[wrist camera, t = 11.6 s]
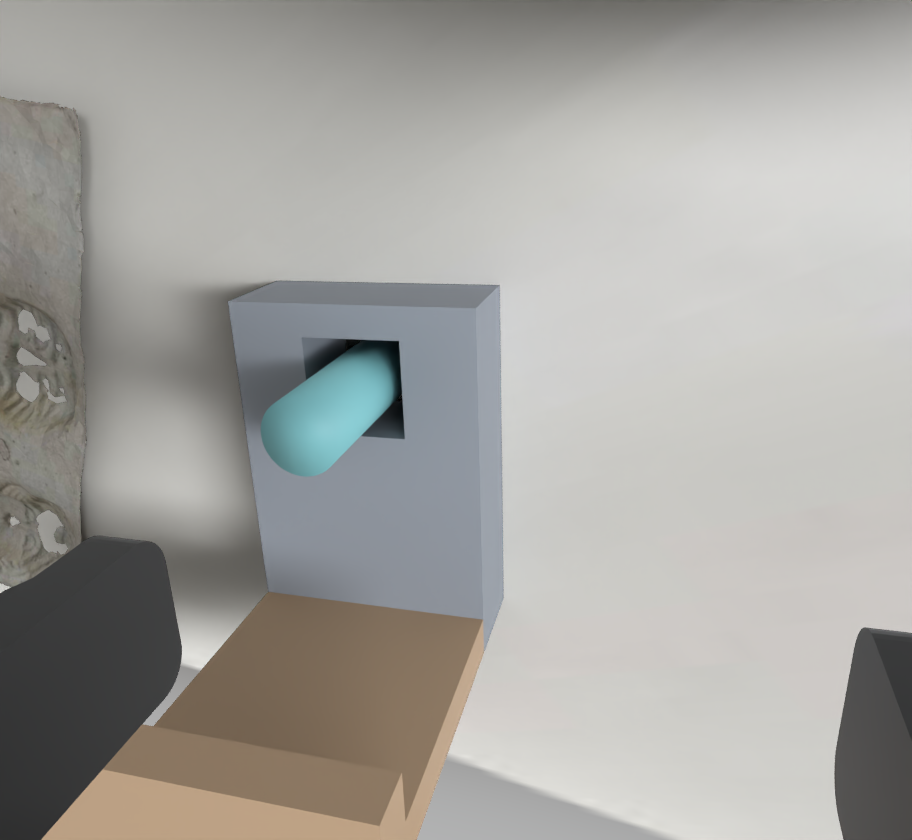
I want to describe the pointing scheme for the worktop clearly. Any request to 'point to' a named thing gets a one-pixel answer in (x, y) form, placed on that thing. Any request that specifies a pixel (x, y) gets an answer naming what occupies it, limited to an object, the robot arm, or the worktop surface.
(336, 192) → the worktop surface
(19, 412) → the stone relief
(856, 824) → the robot arm
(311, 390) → the peg
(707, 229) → the worktop surface
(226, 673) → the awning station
